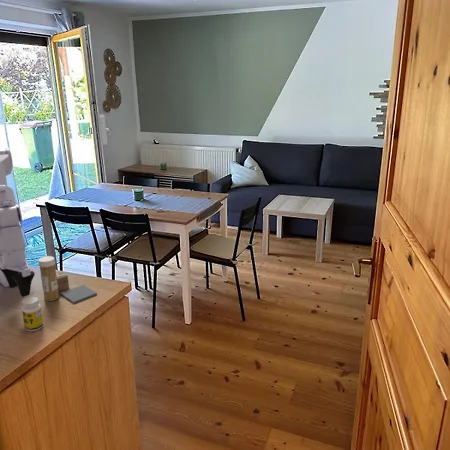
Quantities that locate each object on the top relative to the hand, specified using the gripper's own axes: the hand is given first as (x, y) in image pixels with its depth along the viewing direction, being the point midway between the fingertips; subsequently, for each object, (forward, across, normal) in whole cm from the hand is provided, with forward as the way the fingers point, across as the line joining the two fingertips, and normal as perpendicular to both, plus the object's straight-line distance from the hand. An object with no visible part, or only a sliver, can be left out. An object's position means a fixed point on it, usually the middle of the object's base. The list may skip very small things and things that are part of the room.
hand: (19, 291), depth 124 cm
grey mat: (+6, +4, +16) cm, 17 cm away
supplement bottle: (+6, +12, -2) cm, 14 cm away
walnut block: (+6, -5, +14) cm, 16 cm away
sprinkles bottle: (+6, 0, +9) cm, 11 cm away
